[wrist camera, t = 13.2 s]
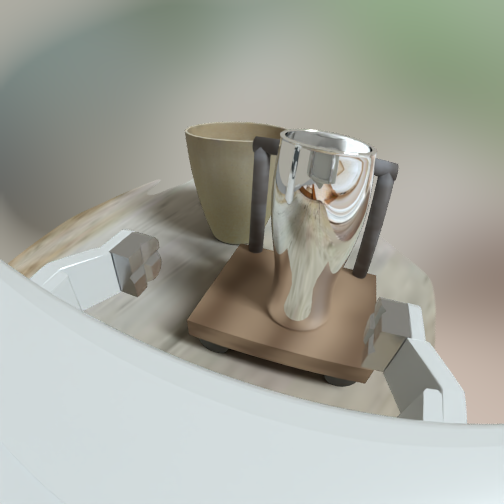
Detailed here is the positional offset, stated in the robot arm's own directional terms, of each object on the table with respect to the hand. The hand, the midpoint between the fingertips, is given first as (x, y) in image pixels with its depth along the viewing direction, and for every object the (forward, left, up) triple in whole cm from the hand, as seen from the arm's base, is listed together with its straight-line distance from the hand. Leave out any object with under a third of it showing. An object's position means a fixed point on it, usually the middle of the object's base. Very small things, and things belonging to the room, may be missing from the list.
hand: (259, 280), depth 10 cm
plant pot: (-12, +29, -17) cm, 36 cm away
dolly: (0, +13, -17) cm, 21 cm away
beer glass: (+1, +12, -12) cm, 17 cm away
